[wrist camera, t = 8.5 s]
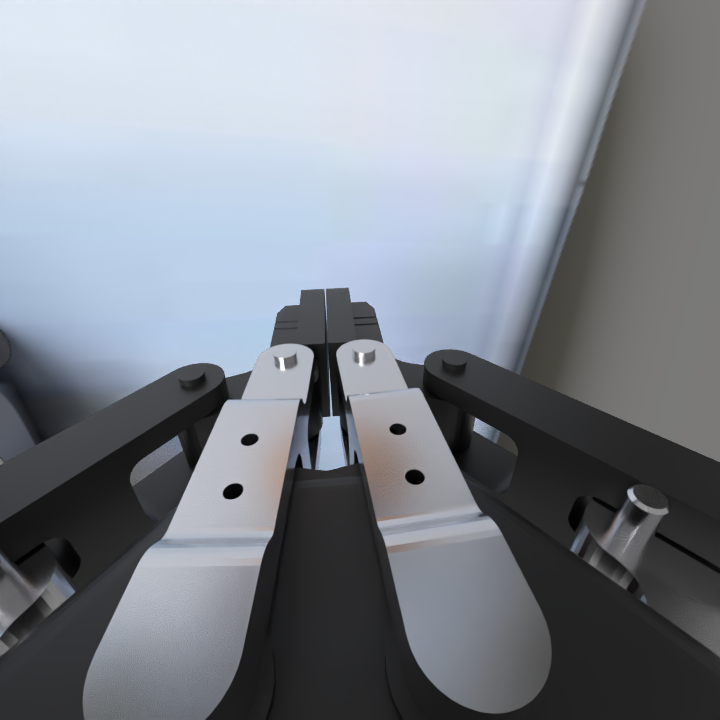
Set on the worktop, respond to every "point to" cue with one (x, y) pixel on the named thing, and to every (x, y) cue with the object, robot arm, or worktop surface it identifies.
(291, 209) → the worktop surface
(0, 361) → the beverage cup
